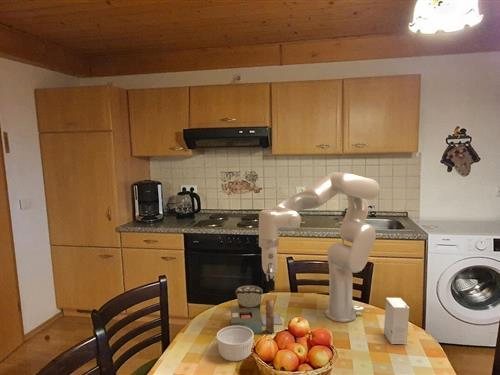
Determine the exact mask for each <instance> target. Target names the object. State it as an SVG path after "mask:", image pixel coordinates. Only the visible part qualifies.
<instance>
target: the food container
mask: <svg viewBox="0 0 500 375" xmlns="http://www.w3.org/2000/svg"><path fill="white" fill-rule="evenodd" d="M235 294H236V298H237V306H238V309H243V308H259V310H260V311H261V307H262V297H263V296H262V295H264V293H263V289H262V288H261V287H260V286H257V285H243V286H240V287H238V288H237V289H236V290H235Z"/></svg>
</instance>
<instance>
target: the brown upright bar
mask: <svg viewBox="0 0 500 375" xmlns="http://www.w3.org/2000/svg"><path fill="white" fill-rule="evenodd" d="M274 303H275V302H274V300H273V299H267V300H265V315H266V326H265V332H266V335H268V334H272V333H274V334H275V328H274V327H275V325H274V315H275V313H274V312H275V311H274V309H275V308H274V307H275V306H274Z"/></svg>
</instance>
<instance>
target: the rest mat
mask: <svg viewBox="0 0 500 375" xmlns="http://www.w3.org/2000/svg"><path fill="white" fill-rule="evenodd" d="M261 318H262V327H266V314H265V315H262V314H261ZM280 325H283V321H282V318H281V315H280V314H274V326H280Z"/></svg>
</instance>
